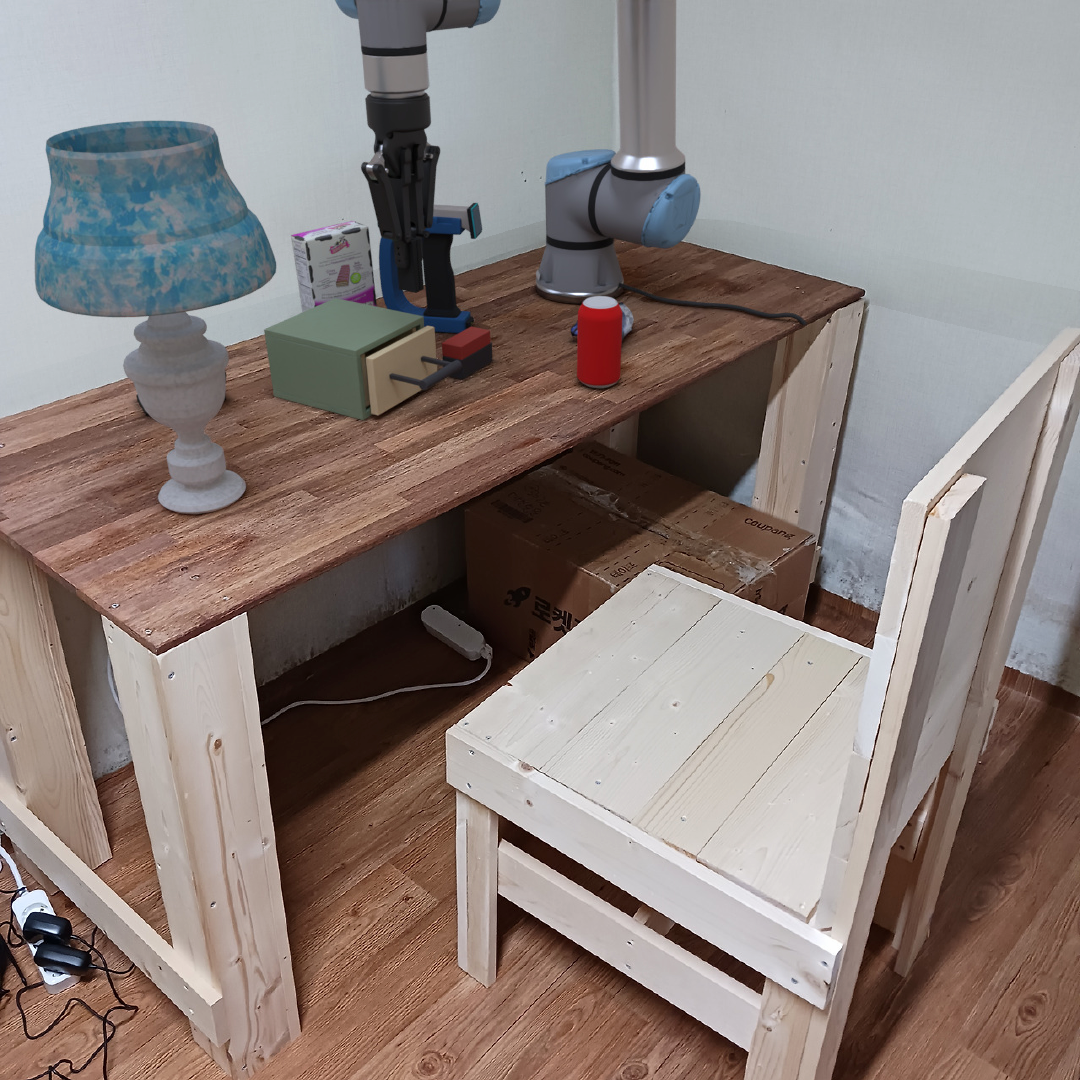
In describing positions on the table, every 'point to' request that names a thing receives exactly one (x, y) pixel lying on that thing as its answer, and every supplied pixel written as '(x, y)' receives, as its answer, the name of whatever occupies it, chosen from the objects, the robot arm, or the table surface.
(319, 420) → the table surface
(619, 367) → the beverage can
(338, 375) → the cabinet
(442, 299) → the handheld scanner
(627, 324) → the snack package
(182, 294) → the table lamp
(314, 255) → the candy bar box
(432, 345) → the drawer
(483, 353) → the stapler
